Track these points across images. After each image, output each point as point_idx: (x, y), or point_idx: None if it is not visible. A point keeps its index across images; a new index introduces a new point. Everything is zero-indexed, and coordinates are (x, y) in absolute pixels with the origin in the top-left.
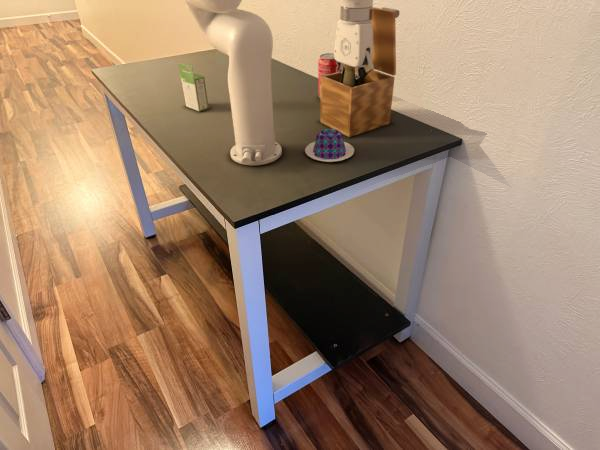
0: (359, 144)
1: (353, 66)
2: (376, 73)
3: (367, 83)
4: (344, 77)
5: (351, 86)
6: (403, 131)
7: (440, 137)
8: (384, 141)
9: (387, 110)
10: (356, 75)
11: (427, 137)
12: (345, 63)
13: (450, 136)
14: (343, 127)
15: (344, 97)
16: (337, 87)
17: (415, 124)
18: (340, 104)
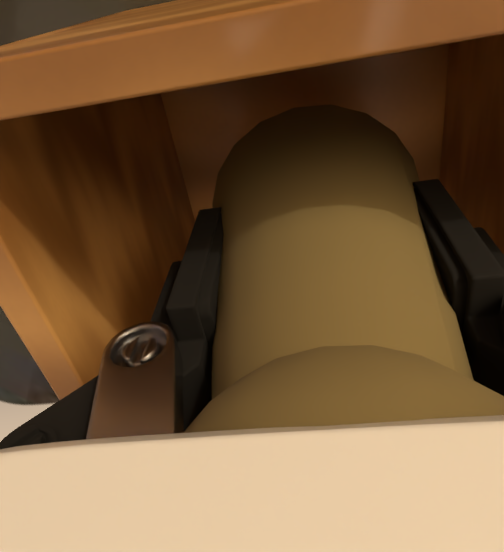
0: (4, 16)
1: (5, 451)
2: None
3: (55, 359)
4: (373, 251)
5: (232, 233)
6: None
7: (14, 375)
8: None
9: None
10: (158, 362)
11: (23, 344)
12: (323, 438)
13: (16, 401)
14: (176, 1)
15: (96, 28)
16: (241, 6)
17: None
18: (191, 4)
